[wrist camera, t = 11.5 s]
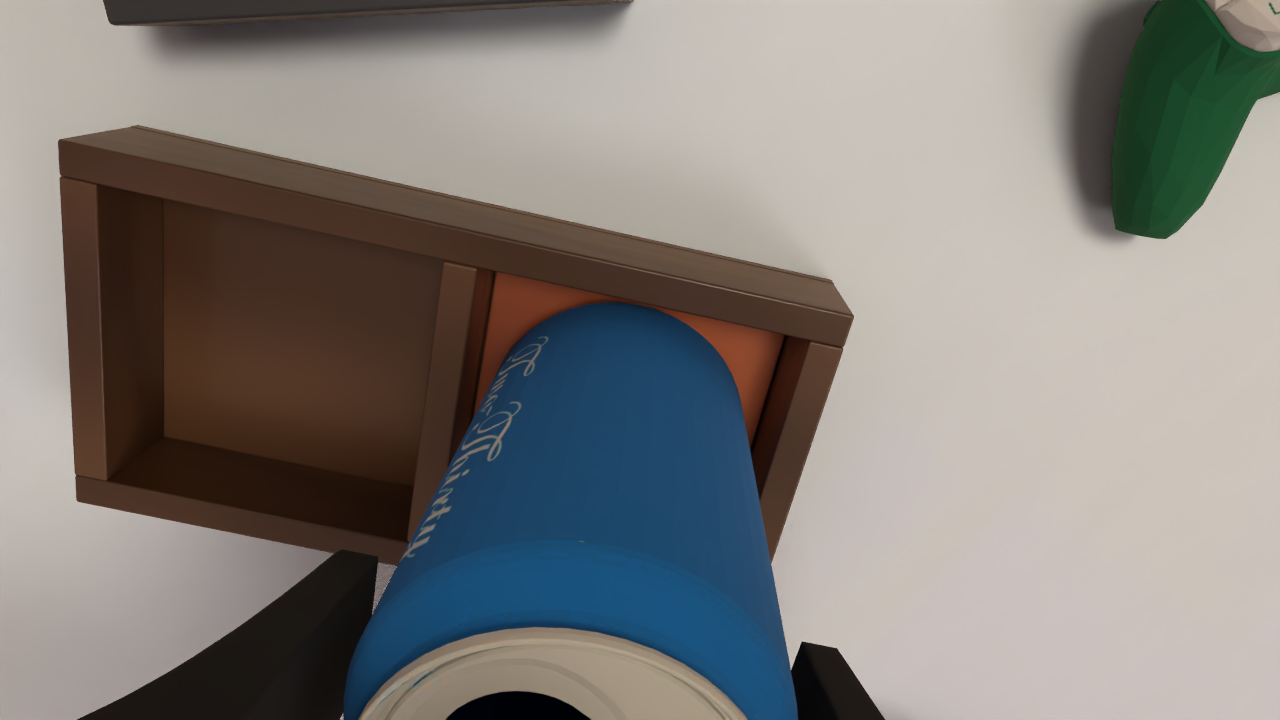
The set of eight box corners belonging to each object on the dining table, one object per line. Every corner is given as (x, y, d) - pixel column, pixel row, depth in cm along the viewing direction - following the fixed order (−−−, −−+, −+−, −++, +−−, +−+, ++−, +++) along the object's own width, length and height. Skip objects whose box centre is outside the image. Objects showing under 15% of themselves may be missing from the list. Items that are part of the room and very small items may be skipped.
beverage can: (627, 239, 20) (569, 507, 9) (790, 423, 21) (916, 843, 10) (444, 396, 22) (202, 785, 10) (608, 554, 23) (549, 1034, 12)
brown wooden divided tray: (738, 571, 24) (746, 637, 21) (142, 449, 23) (75, 502, 20) (832, 280, 21) (855, 315, 18) (136, 124, 20) (56, 138, 17)
